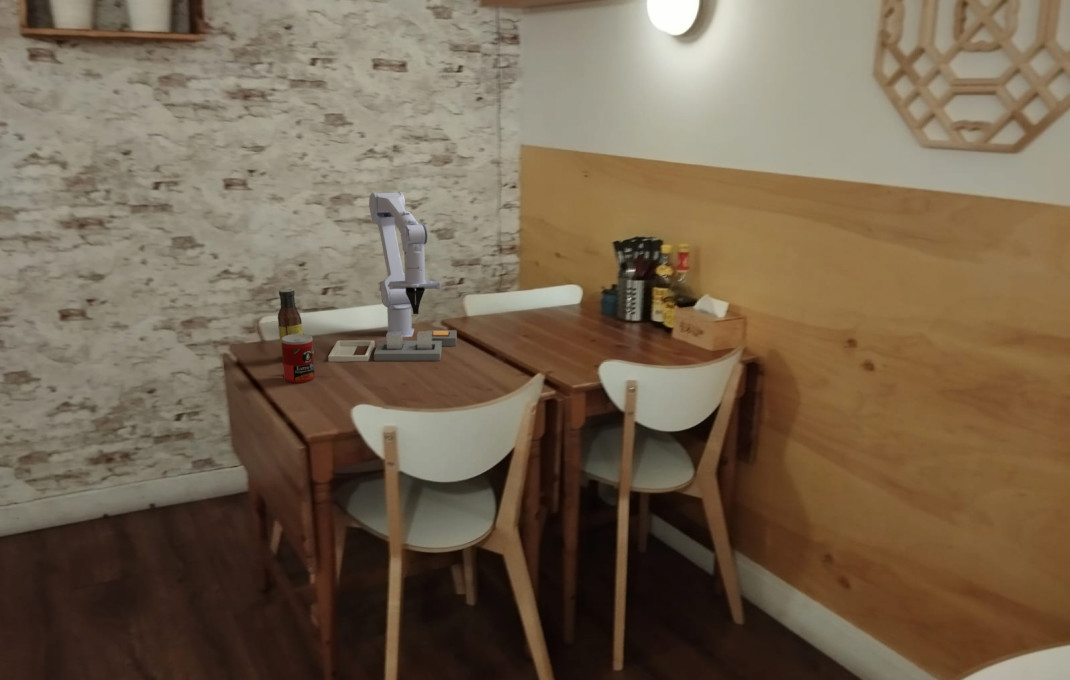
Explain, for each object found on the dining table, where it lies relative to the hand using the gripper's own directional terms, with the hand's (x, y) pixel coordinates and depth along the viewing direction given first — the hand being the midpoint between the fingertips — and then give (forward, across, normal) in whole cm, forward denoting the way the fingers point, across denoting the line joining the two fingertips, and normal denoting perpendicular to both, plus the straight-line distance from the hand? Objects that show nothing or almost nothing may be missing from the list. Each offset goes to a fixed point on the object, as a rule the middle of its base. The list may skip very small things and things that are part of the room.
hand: (415, 313), depth 241 cm
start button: (+10, +7, +4) cm, 13 cm away
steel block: (+10, -5, -8) cm, 14 cm away
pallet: (+10, -2, -8) cm, 13 cm away
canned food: (+11, -28, -28) cm, 41 cm away
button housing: (+10, +7, +4) cm, 13 cm away
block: (+10, +3, -8) cm, 13 cm away
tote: (+10, -18, -7) cm, 22 cm away
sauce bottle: (+11, -33, -12) cm, 37 cm away
